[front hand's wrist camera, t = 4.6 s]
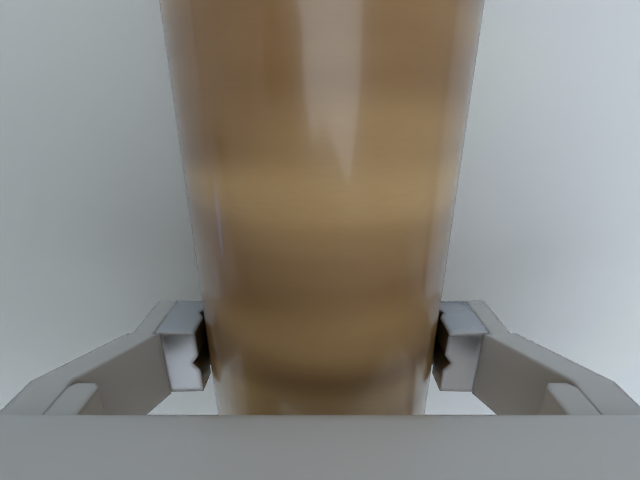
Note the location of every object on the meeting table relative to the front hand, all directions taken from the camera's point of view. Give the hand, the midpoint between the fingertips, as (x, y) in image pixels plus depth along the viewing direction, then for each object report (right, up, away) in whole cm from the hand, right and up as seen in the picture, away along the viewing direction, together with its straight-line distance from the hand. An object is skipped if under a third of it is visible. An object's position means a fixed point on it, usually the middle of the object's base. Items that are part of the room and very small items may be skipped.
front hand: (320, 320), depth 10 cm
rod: (0, +10, -1) cm, 10 cm away
